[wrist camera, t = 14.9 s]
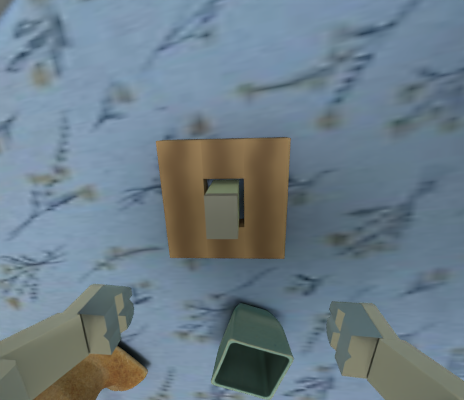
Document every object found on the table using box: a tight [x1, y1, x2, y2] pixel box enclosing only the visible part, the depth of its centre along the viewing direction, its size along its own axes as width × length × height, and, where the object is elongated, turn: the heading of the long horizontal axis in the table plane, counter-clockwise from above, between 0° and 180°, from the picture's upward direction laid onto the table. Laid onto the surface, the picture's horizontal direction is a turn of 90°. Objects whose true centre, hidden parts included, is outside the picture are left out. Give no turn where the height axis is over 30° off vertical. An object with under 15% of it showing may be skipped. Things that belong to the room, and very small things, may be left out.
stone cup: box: [33, 346, 148, 400], centre depth 35 cm, size 15×12×15 cm
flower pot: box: [211, 303, 294, 400], centre depth 34 cm, size 9×9×9 cm
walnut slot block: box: [156, 137, 291, 259], centre depth 31 cm, size 16×16×3 cm
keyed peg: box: [204, 180, 239, 239], centre depth 28 cm, size 4×5×8 cm
